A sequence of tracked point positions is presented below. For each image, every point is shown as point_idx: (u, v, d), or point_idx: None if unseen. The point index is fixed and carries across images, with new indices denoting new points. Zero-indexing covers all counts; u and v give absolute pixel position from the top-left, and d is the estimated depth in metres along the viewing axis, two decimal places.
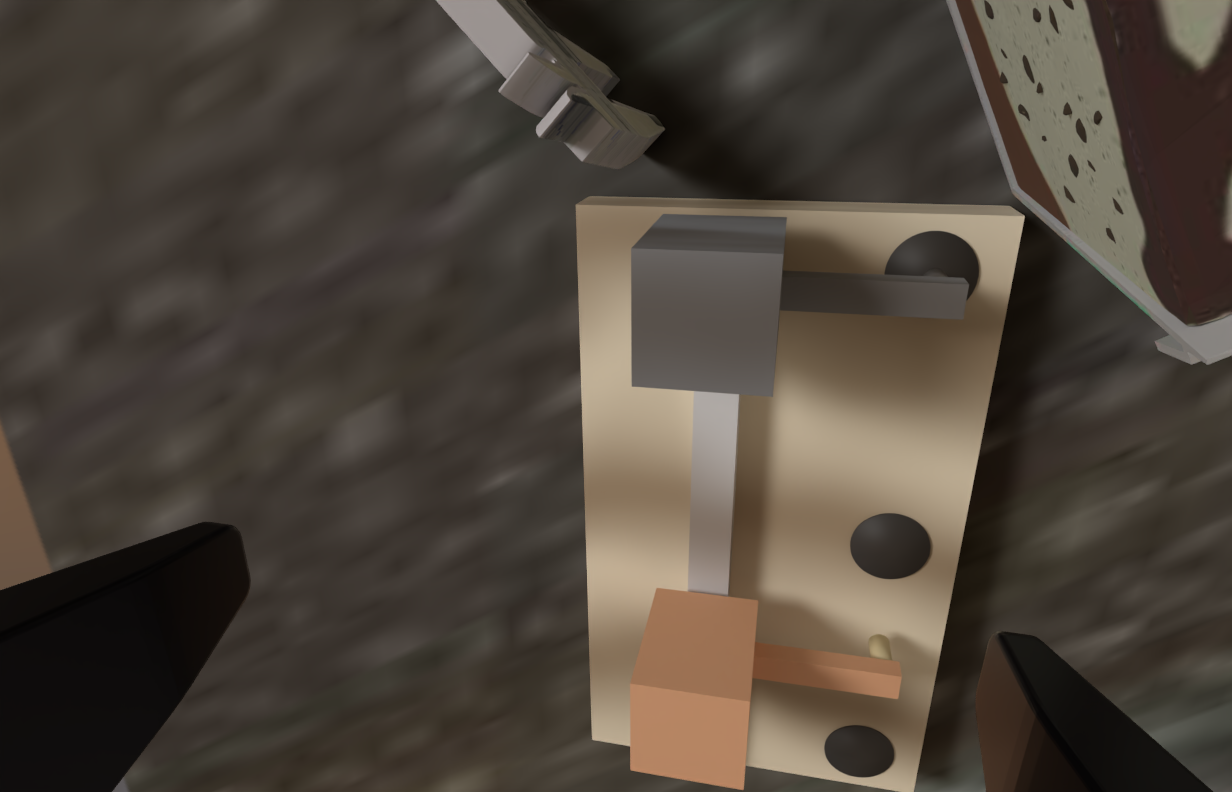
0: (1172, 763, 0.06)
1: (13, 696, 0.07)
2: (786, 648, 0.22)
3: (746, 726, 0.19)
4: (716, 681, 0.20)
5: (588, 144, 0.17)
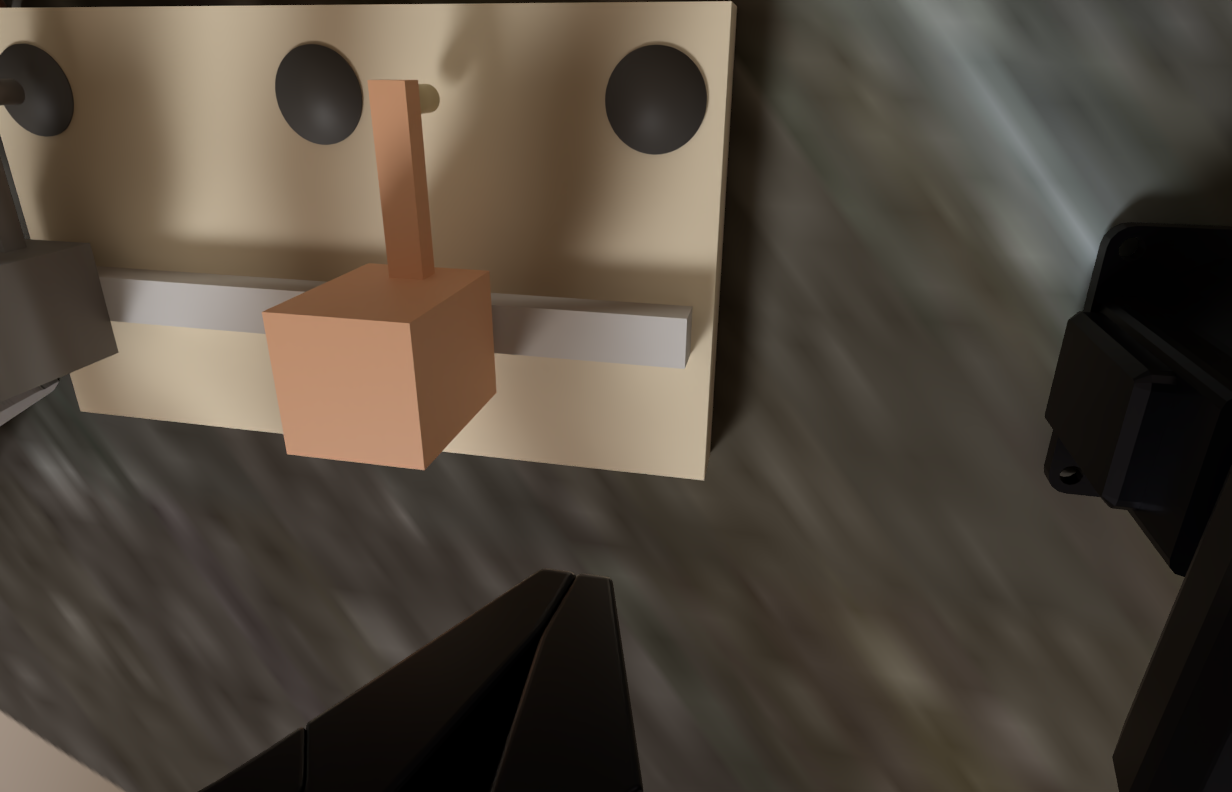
0: (616, 673, 0.07)
1: (460, 785, 0.06)
2: None
3: (299, 317, 0.14)
4: None
5: None
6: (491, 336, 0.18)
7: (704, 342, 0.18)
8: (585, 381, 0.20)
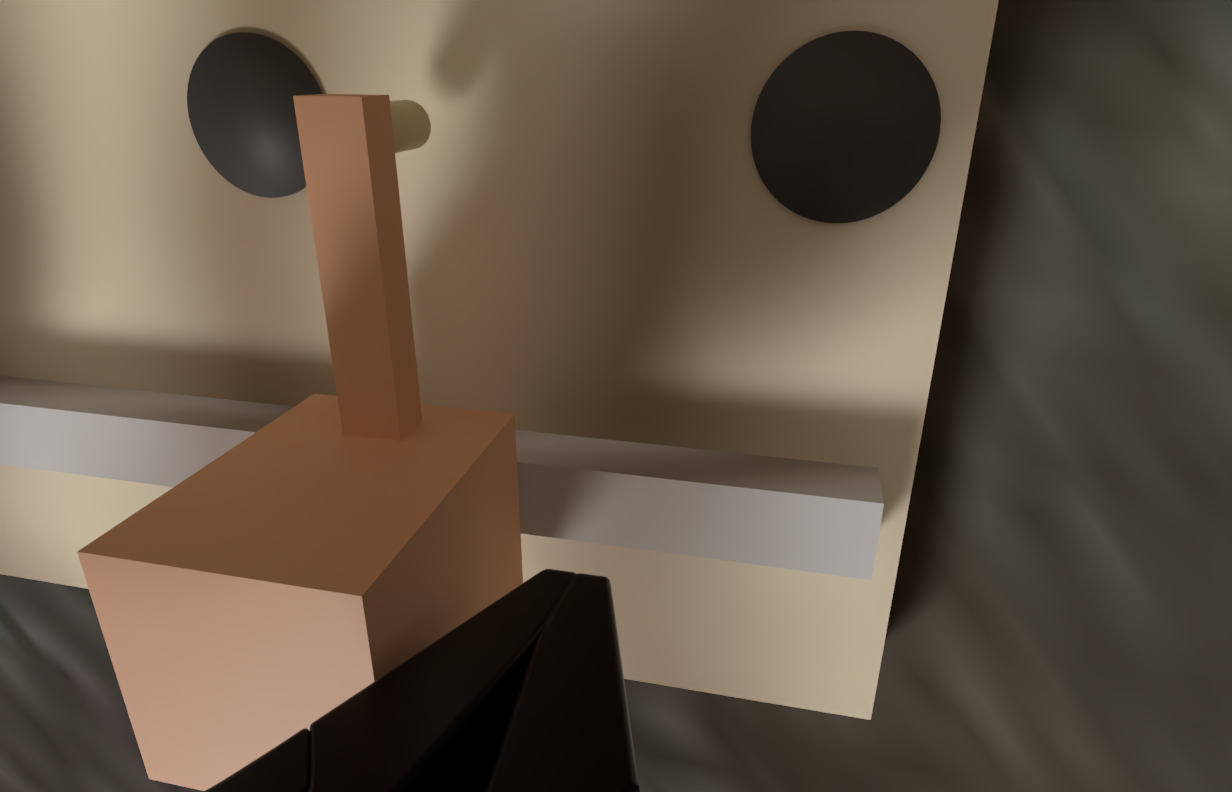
0: (613, 672, 0.07)
1: (464, 786, 0.06)
2: None
3: (148, 567, 0.07)
4: None
5: None
6: (516, 516, 0.11)
7: (892, 523, 0.11)
8: (687, 569, 0.12)
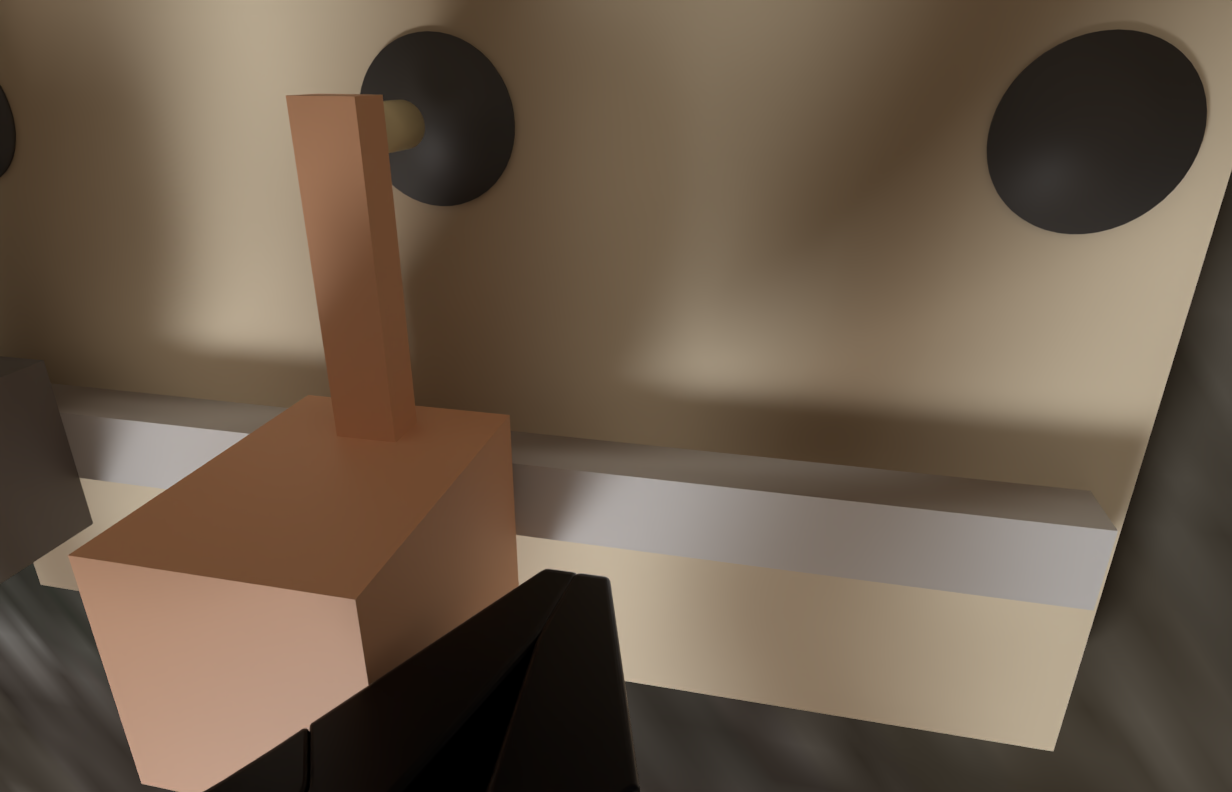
0: (614, 672, 0.07)
1: (463, 786, 0.06)
2: None
3: (139, 571, 0.07)
4: None
5: None
6: (512, 517, 0.11)
7: None
8: (866, 594, 0.12)
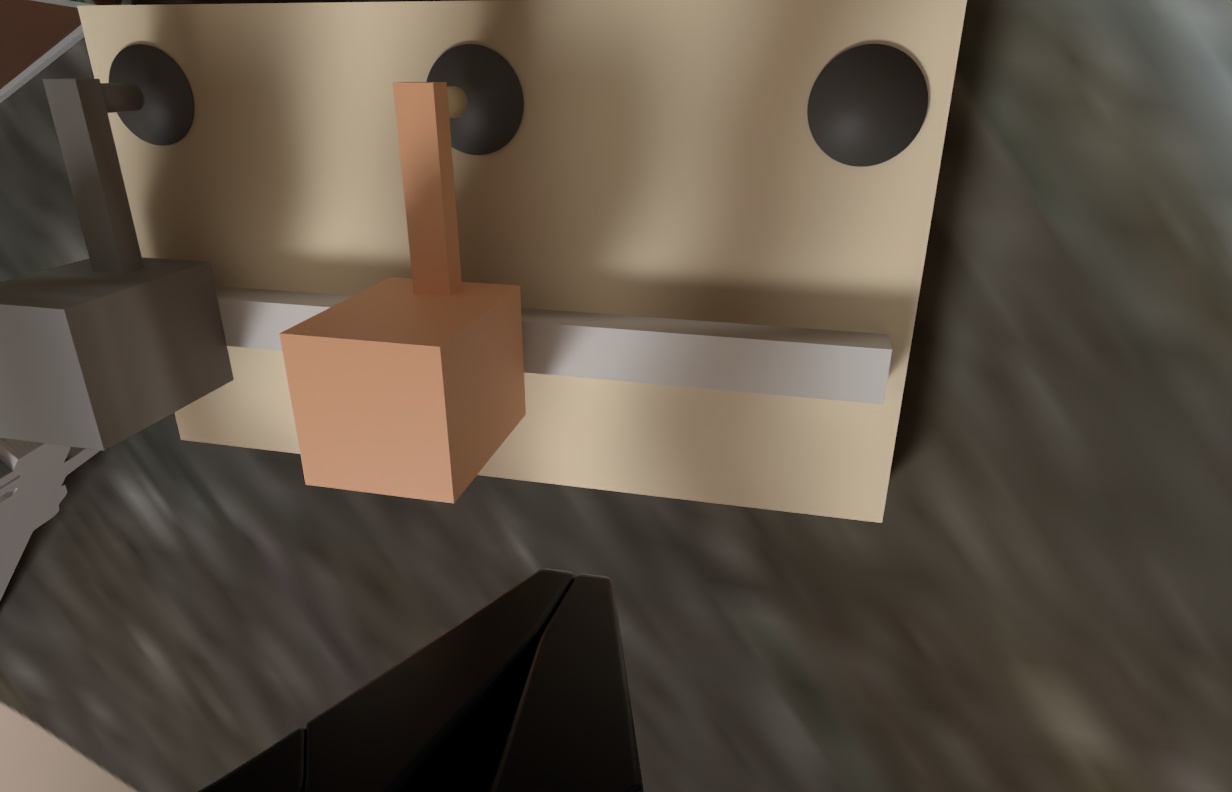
0: (617, 673, 0.07)
1: (460, 785, 0.06)
2: None
3: (320, 339, 0.13)
4: None
5: (5, 452, 0.19)
6: (521, 355, 0.17)
7: (897, 373, 0.17)
8: (755, 414, 0.18)
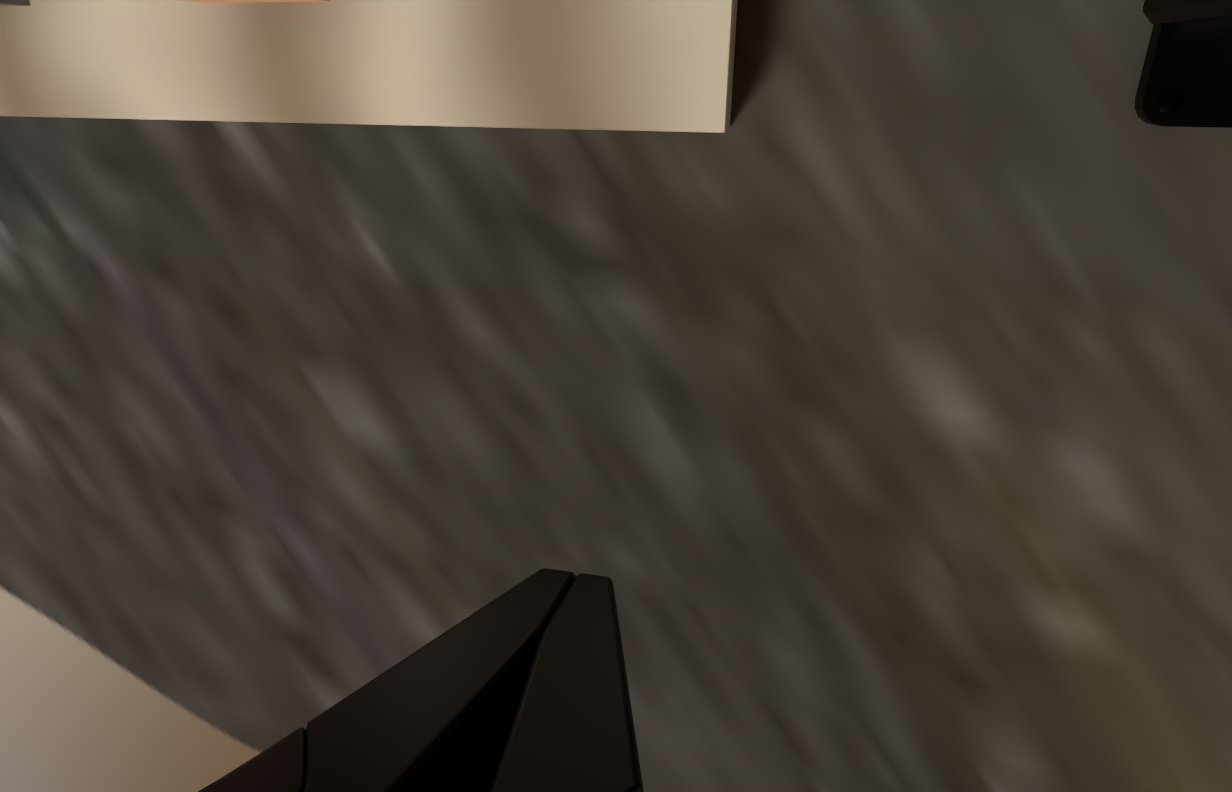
0: (616, 673, 0.07)
1: (460, 785, 0.06)
2: None
3: None
4: None
5: None
6: None
7: None
8: (582, 6, 0.16)
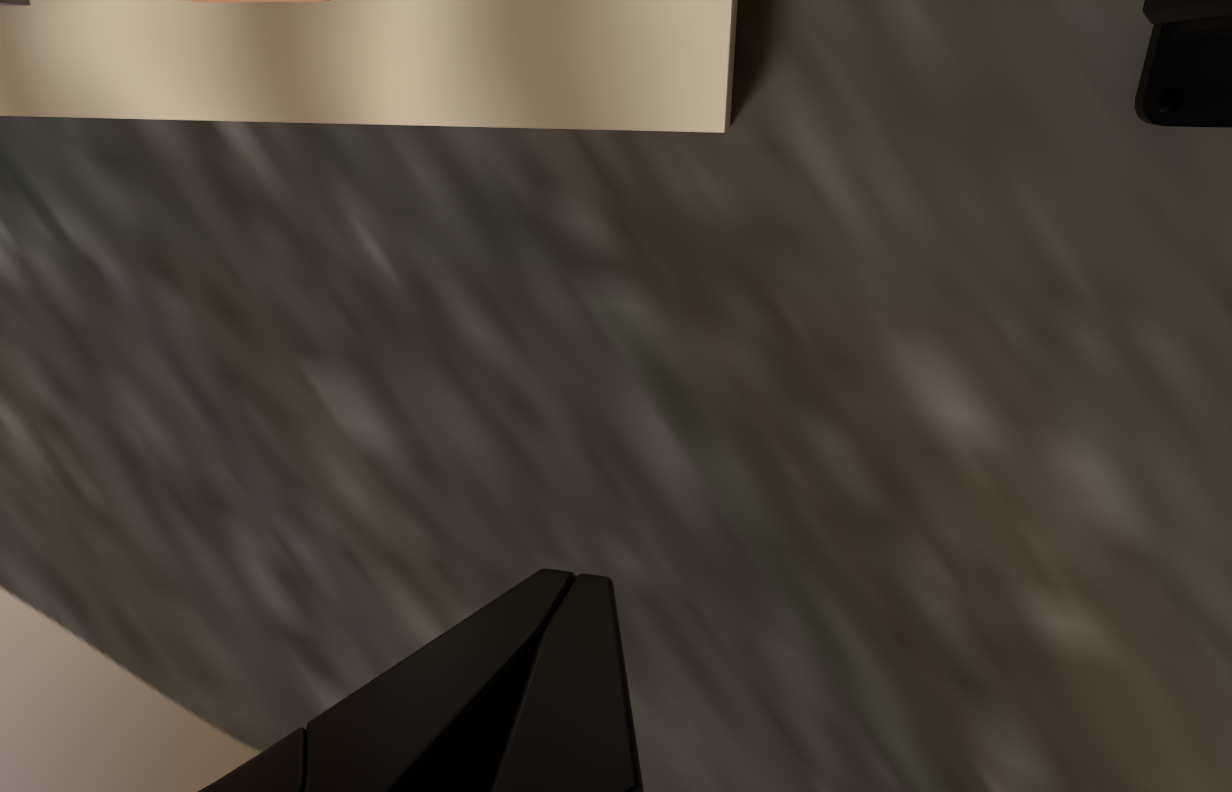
0: (617, 673, 0.07)
1: (460, 785, 0.06)
2: None
3: None
4: None
5: None
6: None
7: None
8: (582, 5, 0.16)
